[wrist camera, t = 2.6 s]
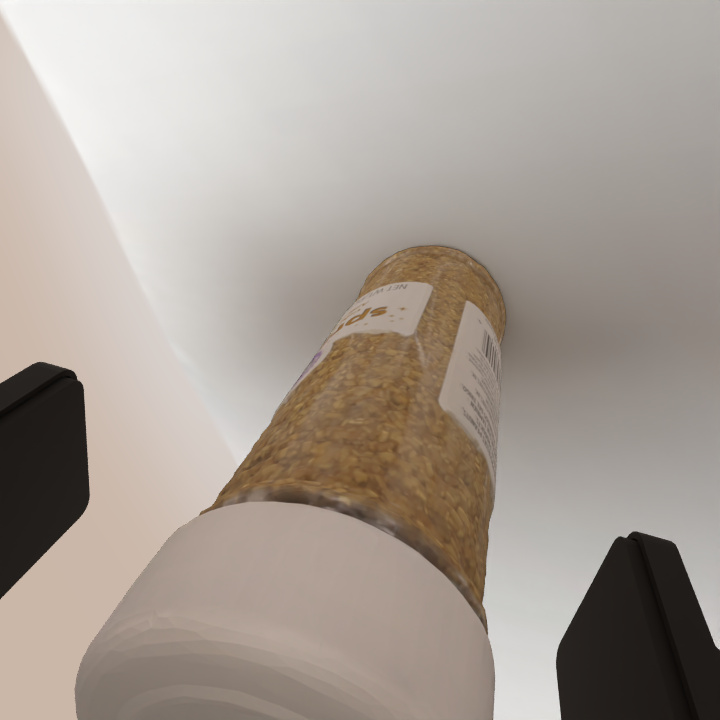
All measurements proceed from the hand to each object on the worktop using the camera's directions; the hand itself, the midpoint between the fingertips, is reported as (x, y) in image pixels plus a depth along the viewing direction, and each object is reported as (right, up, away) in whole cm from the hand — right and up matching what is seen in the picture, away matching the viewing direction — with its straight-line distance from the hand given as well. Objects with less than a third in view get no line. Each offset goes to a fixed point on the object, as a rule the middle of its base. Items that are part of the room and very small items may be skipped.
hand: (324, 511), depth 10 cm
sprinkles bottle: (+3, +4, +8) cm, 9 cm away
